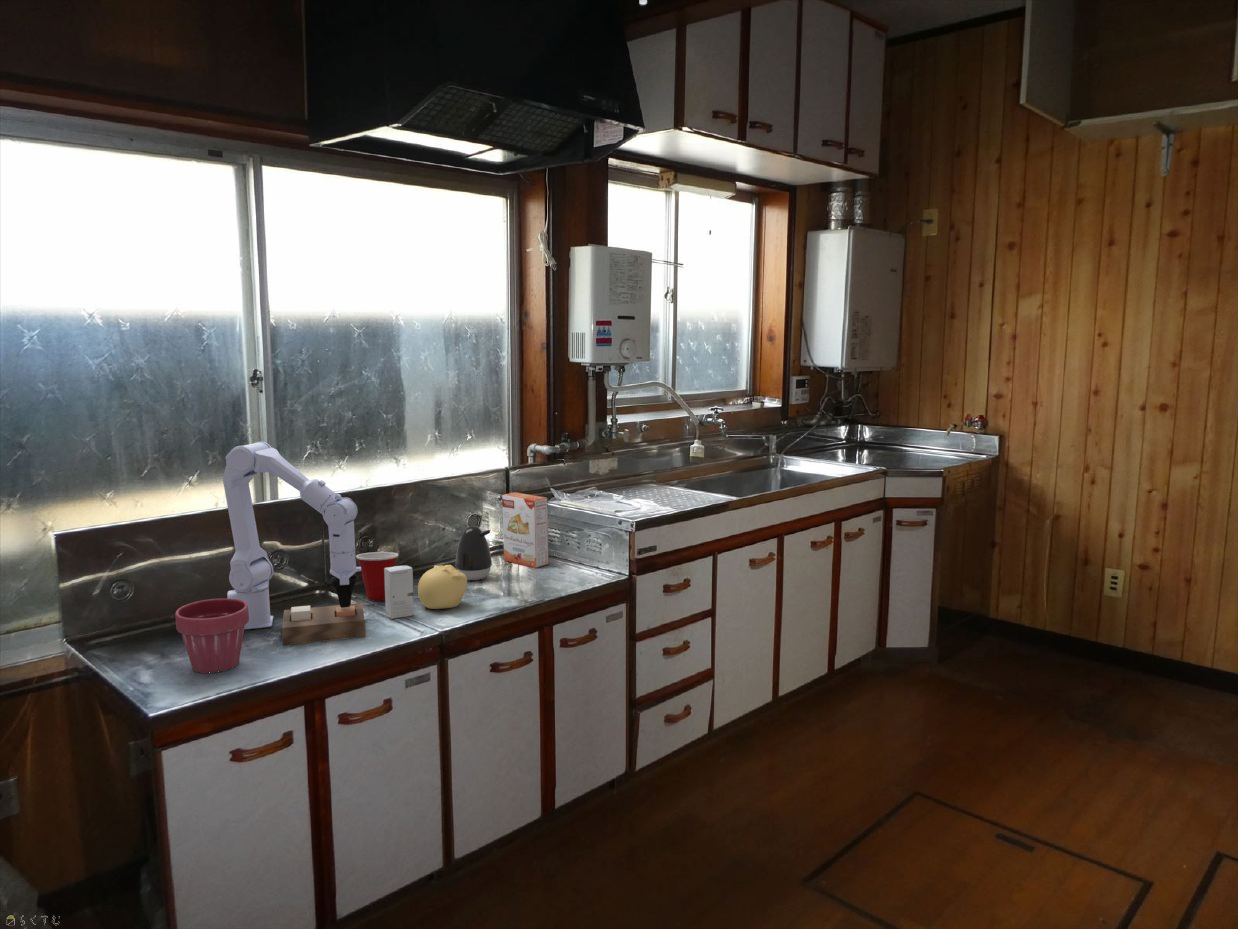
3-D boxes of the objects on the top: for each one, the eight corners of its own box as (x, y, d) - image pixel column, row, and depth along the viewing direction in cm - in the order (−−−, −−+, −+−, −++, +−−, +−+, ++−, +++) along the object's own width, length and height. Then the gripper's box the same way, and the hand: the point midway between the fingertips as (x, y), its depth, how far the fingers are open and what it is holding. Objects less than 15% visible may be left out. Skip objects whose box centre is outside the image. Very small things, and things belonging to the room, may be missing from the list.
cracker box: (502, 561, 280) (501, 494, 277) (517, 557, 285) (515, 491, 282) (535, 569, 271) (533, 499, 268) (549, 565, 276) (548, 496, 273)
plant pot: (250, 673, 190) (246, 613, 188) (175, 682, 186) (170, 621, 184) (253, 650, 204) (249, 595, 202) (183, 658, 199) (178, 601, 197)
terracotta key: (337, 626, 215) (336, 612, 215) (336, 621, 219) (336, 607, 218) (355, 624, 216) (355, 610, 216) (355, 619, 220) (354, 605, 220)
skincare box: (391, 619, 225) (389, 571, 223) (385, 615, 229) (382, 567, 227) (415, 615, 228) (413, 568, 226) (408, 610, 232) (406, 564, 230)
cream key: (291, 627, 212) (290, 612, 211) (292, 621, 216) (291, 607, 215) (310, 625, 213) (310, 610, 213) (311, 619, 217) (310, 605, 217)
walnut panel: (282, 645, 207) (281, 628, 206) (285, 626, 220) (284, 610, 220) (365, 636, 213) (364, 620, 212) (362, 618, 226) (361, 603, 225)
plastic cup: (405, 592, 248) (404, 549, 246) (392, 604, 237) (390, 559, 236) (367, 591, 249) (364, 548, 247) (351, 603, 238) (349, 558, 237)
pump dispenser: (483, 584, 255) (482, 531, 253) (449, 581, 258) (448, 528, 256) (498, 574, 265) (497, 523, 263) (465, 572, 268) (464, 521, 266)
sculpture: (474, 606, 235) (473, 565, 234) (433, 616, 227) (432, 574, 226) (451, 597, 244) (449, 557, 242) (410, 606, 236) (409, 565, 234)
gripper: (361, 556, 209) (364, 614, 211) (358, 542, 223) (361, 596, 225) (329, 559, 207) (332, 617, 209) (328, 544, 221) (331, 599, 223)
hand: (345, 606), depth 217 cm, fingers closed
